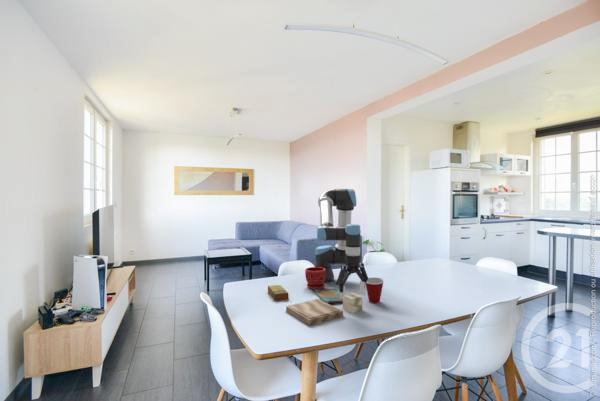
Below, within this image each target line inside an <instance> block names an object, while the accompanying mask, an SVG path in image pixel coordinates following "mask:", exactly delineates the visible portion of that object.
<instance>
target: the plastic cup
mask: <svg viewBox="0 0 600 401" xmlns="http://www.w3.org/2000/svg"><path fill="white" fill-rule="evenodd" d="M384 283H385V280H384V279H383V278H380V277H368V280H367V282H365V288H366V293H367V296H368V297H367V298H368V299H367V300H368V302H369V303H371V304H378V303H380V301H381V296H382V290H383V287H384V285H383V284H384Z"/></svg>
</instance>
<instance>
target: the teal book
mask: <svg viewBox="0 0 600 401" xmlns="http://www.w3.org/2000/svg"><path fill="white" fill-rule="evenodd" d="M313 293H314V294H315V295H316V296H317V297H318V299H319V300H321V301H323V302H326V303H328V304H330V305H332V306H333V305H343V299H342V298H340V291H339V287H335V288H326V289H324V288H322V289H313ZM346 294H347V293H346V292H345V295H346Z"/></svg>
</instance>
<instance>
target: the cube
mask: <svg viewBox="0 0 600 401" xmlns="http://www.w3.org/2000/svg"><path fill="white" fill-rule="evenodd" d="M342 310H345V311H347V312H349V313H351V314H354V313H358V312H361V311H363V296H362V295H361V294H357V293H354V292H350V293H346V295H345V299H343V304H342Z"/></svg>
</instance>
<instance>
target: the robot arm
mask: <svg viewBox="0 0 600 401" xmlns="http://www.w3.org/2000/svg"><path fill="white" fill-rule="evenodd" d="M318 207H319V221H320V223H319V224H320V225H319V226H317V227H316V238H317V240H318V241H337V243H336V244H335V246H334V247H333V246H332V245H328V244H326V245H320V246H317V247H316V248H315V253H314V255H315V260H314V267H322V268H325V269H326V277H325V281H324V283H331V282H333V281H335V274H334V271H333V265H334V266H335V265H337V266H340V265H341V266H340V270H339V274H338V277H337V279H336V285H338V286H339V287H338V288H339V291H340V298H342V299H345V293H346V286H345V284H346V282H347V280H348V279H349V277H350V276H351V275H352V274H356V275H357V276H358V278H359V280H360V281H359V295H365V292H366V291H365V288H366V284H365V282H367V280H368V278H369V277H368V273H367V271H366V268H365V264H364V262H361V233H362V231H361V225H360V224H352V211H354V210H355V207H357V196H356V191H355V190H354V189H353V188H329V189H327V190H325V191H324V192H322V193H321V194H320V195H319V197H318ZM333 207H336V210H337V211H338V212H337V214H338V215H337V216H338V217H337V221H338V222H337V226H334V216H333V215H334V214H333Z"/></svg>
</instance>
